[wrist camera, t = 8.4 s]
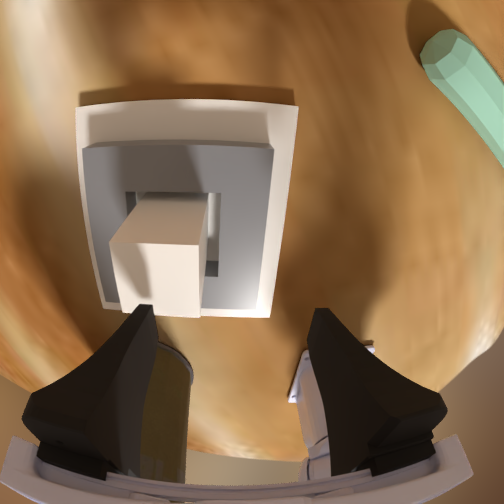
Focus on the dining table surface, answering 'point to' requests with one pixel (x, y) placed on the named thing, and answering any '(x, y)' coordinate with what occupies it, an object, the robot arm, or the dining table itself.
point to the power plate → (202, 127)
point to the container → (468, 84)
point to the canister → (166, 418)
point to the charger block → (163, 253)
